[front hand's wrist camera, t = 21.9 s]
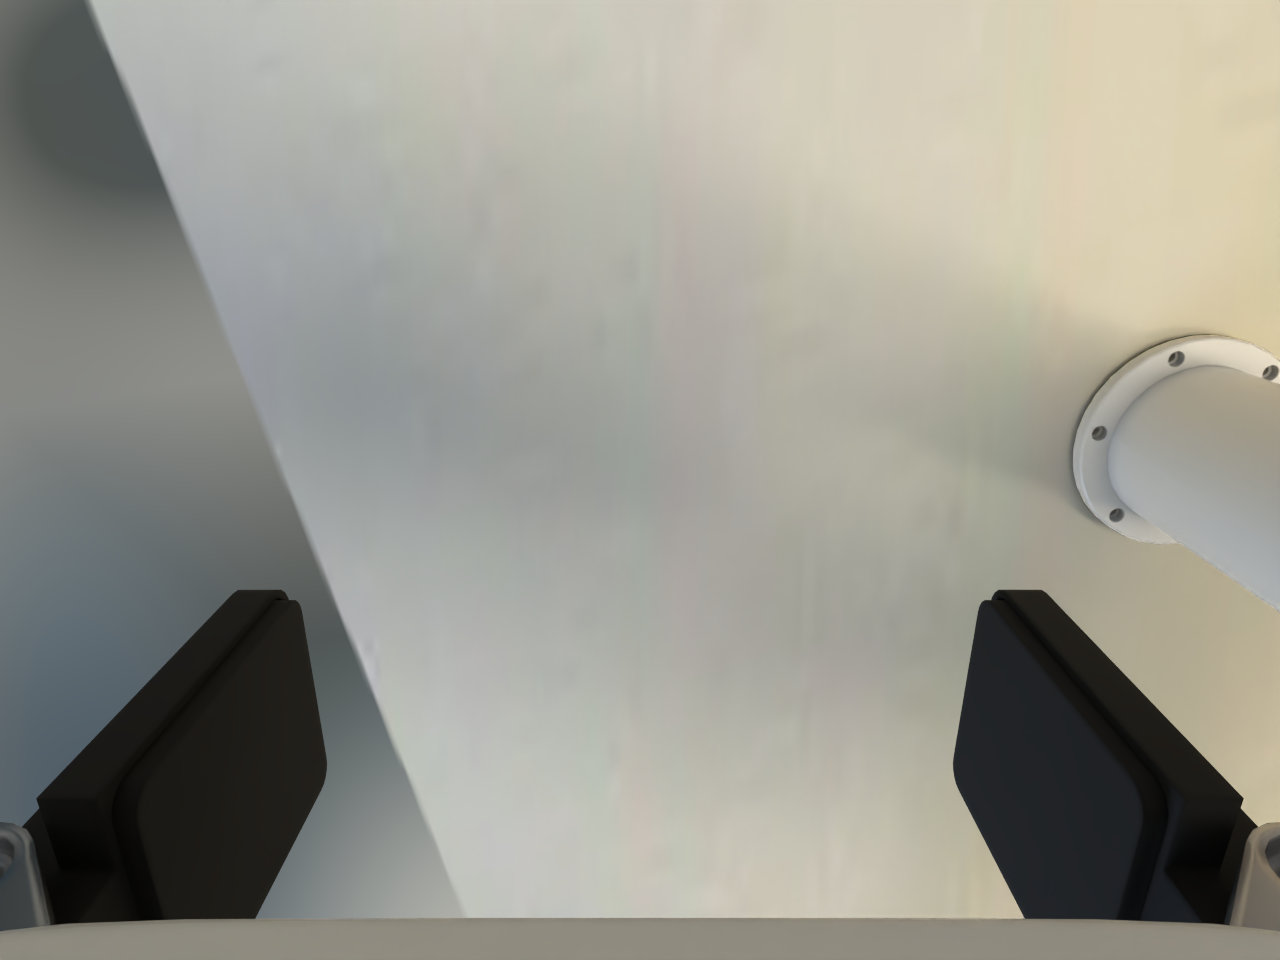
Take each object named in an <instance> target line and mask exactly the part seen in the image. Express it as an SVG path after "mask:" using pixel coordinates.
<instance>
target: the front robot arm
mask: <svg viewBox="0 0 1280 960" xmlns="http://www.w3.org/2000/svg"><path fill="white" fill-rule="evenodd" d="M1094 429H1095V430H1094ZM1093 430H1094V431H1093ZM1073 472H1074V476H1075V481H1076V485H1077V488H1078V490H1079V492H1080V494H1081V497H1082V499H1083V501H1084V503H1085V504H1086V505H1087V506H1088V508H1089V509H1090V510H1091V511H1092V512H1093V514H1094V515H1095V516H1096V517H1097V518H1099V519H1100V520H1101V521H1102V522H1103V523H1105V524H1106V525H1107V526H1108V527H1110V528H1112V529H1113V530H1115V531H1117V532H1118V533H1120V534H1122V535H1123V536H1126V537H1129V538H1132V539H1134V540H1137V541H1140V542H1146V543H1154V544H1182V545H1183V546H1185V547H1186V548H1187V549H1189V550H1190V551H1192V552H1193V553H1195V554H1196V555H1198V556H1199V557H1200V558H1202V559H1203V560H1205V561H1206V562H1208V563H1209V564H1211V565H1212V566H1213V567H1215V568H1216V569H1218V570H1219V571H1221V572H1222V573H1224V574H1225V575H1227V576H1228V577H1229V578H1231V579H1232V580H1234V581H1235V582H1237V583H1238V584H1240V585H1241V586H1242V587H1244V588H1245V589H1247V590H1248V591H1250V592H1251V593H1253V594H1254V595H1255V596H1257V597H1258V598H1260V599H1261V600H1263V601H1264V602H1266V603H1267V604H1268V605H1270V606H1271V607H1273V608H1274V609H1276V610H1277V611H1279V612H1280V360H1279V359H1277V358H1276V357H1275V356H1274V355H1273V354H1272V353H1271V352H1269V351H1267V350H1265V349H1263V348H1261V347H1259V346H1257V345H1255V344H1253V343H1250V342H1247V341H1243V340H1240V339H1237V338H1233V337H1226V336H1219V335H1196V336H1188V337H1184V338H1180V339H1175V340H1171V341H1168V342H1166V343H1163V344H1161V345H1158V346H1156V347H1153V348H1151V349H1149V350H1147V351H1145V352H1144V353H1142V354H1140V355H1139V356H1137V357H1135V358H1134V359H1132V360H1131V361H1129V362H1128V363H1126V364H1125V365H1124V366H1123V367H1122V368H1121V369H1119V370H1118V371H1117V372H1116V373H1115V374H1113V375H1112V376H1111V377H1110V378H1109V379H1108V381H1107V382H1106V383H1105V384H1104V385H1103V386H1102V388H1101V389H1100V390H1099V391H1098V392H1097V393H1096V395H1095V396H1094V398H1093V400H1092V401H1091V403H1090V404H1089V406H1088V408H1087V409H1086V411H1085V413H1084V415H1083V418H1082V420H1081V423H1080V425H1079V428H1078V430H1077V434H1076V439H1075V444H1074V449H1073ZM326 771H327V759H326V753H325V746H324V740H323V734H322V729H321V723H320V717H319V711H318V705H317V699H316V693H315V687H314V681H313V675H312V669H311V663H310V657H309V651H308V645H307V639H306V633H305V627H304V622H303V615H302V610H301V607H300V605H299V603H298V602H297V601H296V600H289V599H288V597H287V595H286V593H285V592H283V591H282V590H238V591H236V592H235V593H233V594H232V595H231V596H230V597H229V598H228V599H227V600H226V602H225V603H224V604H223V605H222V606H221V607H220V608H219V609H218V610H217V611H216V612H215V613H214V614H213V615H212V616H211V617H210V618H209V619H208V620H207V621H206V622H205V623H204V624H203V626H202V627H201V628H200V629H199V630H198V631H197V632H196V633H195V634H194V635H193V636H192V637H191V638H190V639H189V640H188V641H187V642H186V643H185V644H184V645H183V646H182V647H181V648H180V649H179V650H178V652H177V653H176V654H175V655H174V656H173V657H172V658H171V659H170V660H169V661H168V662H167V663H166V664H165V665H164V666H163V667H162V668H161V669H160V670H159V671H158V672H157V673H156V674H155V676H154V677H153V678H152V679H151V680H150V681H149V682H148V683H147V684H146V685H145V686H144V687H143V688H142V689H141V690H140V691H139V692H138V693H137V694H136V695H135V696H134V697H133V698H132V699H131V701H130V702H129V703H128V704H127V705H126V706H125V707H124V708H123V709H122V710H121V711H120V712H119V713H118V714H117V715H116V716H115V717H114V718H113V719H112V720H111V721H110V722H109V723H108V724H107V726H106V727H105V728H104V729H103V730H102V731H101V732H100V733H99V734H98V735H97V736H96V737H95V738H94V739H93V740H92V741H91V742H90V743H89V744H88V745H87V746H86V747H85V748H84V749H83V750H82V752H81V753H80V754H79V755H78V756H77V757H76V758H75V759H74V760H73V761H72V762H71V763H70V764H69V765H68V766H67V767H66V768H65V769H64V770H63V771H62V772H61V773H60V774H59V776H58V777H57V778H56V779H55V780H54V781H53V782H52V783H51V784H50V785H49V786H48V787H47V788H46V789H45V790H44V791H43V792H42V793H41V794H40V795H39V796H38V797H37V802H38V805H39V809H38V810H37V812H36V813H35V814H34V815H33V816H32V817H31V818H30V819H29V820H28V821H27V822H26V823H25V824H24V825H23V826H22V827H20V826H18V825H16V824H14V823H4V822H0V960H1280V822H1276V823H1266V824H1264V825H1262V826H1260V827H1258V826H1257V825H1256V824H1255V823H1254V822H1253V821H1252V820H1251V819H1250V818H1249V817H1248V816H1247V815H1246V814H1245V813H1244V811H1243V810H1242V809H1241V805H1242V802H1243V799H1244V798H1243V797H1242V796H1241V795H1240V794H1239V793H1238V792H1237V791H1236V790H1235V789H1234V788H1233V787H1232V786H1231V785H1230V784H1229V783H1228V782H1227V781H1226V780H1225V779H1224V778H1223V777H1222V775H1221V774H1220V773H1219V772H1218V771H1217V770H1216V769H1215V768H1214V767H1213V766H1212V765H1211V764H1210V763H1209V762H1208V761H1207V760H1206V759H1205V758H1204V757H1203V756H1202V755H1201V754H1200V753H1199V752H1198V750H1197V749H1196V748H1195V747H1194V746H1193V745H1192V744H1191V743H1190V742H1189V741H1188V740H1187V739H1186V738H1185V737H1184V736H1183V735H1182V734H1181V733H1180V732H1179V731H1178V730H1177V729H1176V728H1175V727H1174V725H1173V724H1172V723H1171V722H1170V721H1169V720H1168V719H1167V718H1166V717H1165V716H1164V715H1163V714H1162V713H1161V712H1160V711H1159V710H1158V709H1157V708H1156V707H1155V706H1154V705H1153V704H1152V703H1151V702H1150V700H1149V699H1148V698H1147V697H1146V696H1145V695H1144V694H1143V693H1142V692H1141V691H1140V690H1139V689H1138V688H1137V687H1136V686H1135V685H1134V684H1133V683H1132V682H1131V681H1130V680H1129V679H1128V678H1127V677H1126V675H1125V674H1124V673H1123V672H1122V671H1121V670H1120V669H1119V668H1118V667H1117V666H1116V665H1115V664H1114V663H1113V662H1112V661H1111V660H1110V659H1109V658H1108V657H1107V656H1106V655H1105V654H1104V653H1103V652H1102V650H1101V649H1100V648H1099V647H1098V646H1097V645H1096V644H1095V643H1094V642H1093V641H1092V640H1091V639H1090V638H1089V637H1088V636H1087V635H1086V634H1085V633H1084V632H1083V631H1082V630H1081V629H1080V628H1079V627H1078V625H1077V624H1076V623H1075V622H1074V621H1073V620H1072V619H1071V618H1070V617H1069V616H1068V615H1067V614H1066V613H1065V612H1064V611H1063V610H1062V609H1061V608H1060V607H1059V606H1058V605H1057V604H1056V603H1055V602H1054V600H1053V599H1052V598H1051V597H1050V596H1049V595H1048V594H1047V593H1045V592H1044V591H1043V590H998V591H996V592H995V593H994V595H993V597H992V599H991V600H984V601H983V602H982V603H981V605H980V607H979V610H978V615H977V621H976V627H975V633H974V639H973V645H972V651H971V657H970V663H969V669H968V675H967V681H966V687H965V693H964V699H963V705H962V711H961V717H960V723H959V729H958V734H957V740H956V746H955V752H954V759H953V771H954V777H955V781H956V785H957V787H958V789H959V791H960V793H961V795H962V797H963V799H964V801H965V803H966V805H967V807H968V809H969V811H970V813H971V815H972V817H973V819H974V821H975V823H976V824H977V826H978V828H979V830H980V832H981V834H982V836H983V838H984V840H985V842H986V844H987V846H988V848H989V850H990V852H991V854H992V856H993V858H994V859H995V861H996V863H997V865H998V867H999V869H1000V871H1001V873H1002V875H1003V877H1004V879H1005V881H1006V883H1007V885H1008V887H1009V889H1010V891H1011V893H1012V894H1013V896H1014V898H1015V900H1016V902H1017V904H1018V906H1019V908H1020V910H1021V912H1022V914H1023V916H1024V918H1025V919H956V918H326V919H325V918H324V919H255V918H256V916H257V914H258V912H259V910H260V908H261V906H262V904H263V902H264V900H265V898H266V896H267V894H268V893H269V891H270V889H271V887H272V885H273V883H274V881H275V879H276V877H277V875H278V873H279V871H280V869H281V867H282V865H283V863H284V861H285V859H286V858H287V856H288V854H289V852H290V850H291V848H292V846H293V844H294V842H295V840H296V838H297V836H298V834H299V832H300V830H301V828H302V826H303V824H304V823H305V821H306V819H307V817H308V815H309V813H310V811H311V809H312V807H313V805H314V803H315V801H316V799H317V797H318V795H319V793H320V791H321V789H322V787H323V784H324V781H325V777H326Z"/></svg>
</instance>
